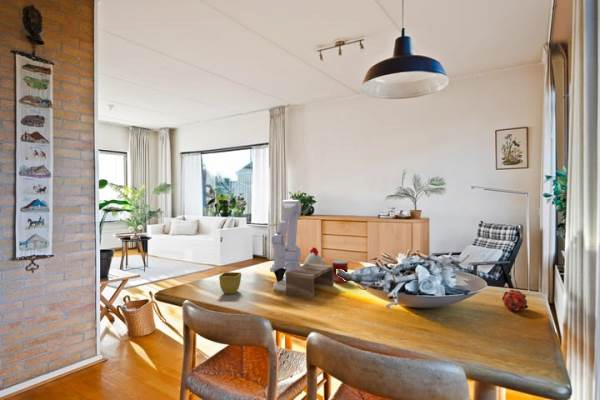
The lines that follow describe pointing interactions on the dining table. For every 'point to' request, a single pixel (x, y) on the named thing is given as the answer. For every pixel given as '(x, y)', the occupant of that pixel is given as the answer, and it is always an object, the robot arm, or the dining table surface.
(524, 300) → the dragon fruit
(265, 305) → the dining table surface
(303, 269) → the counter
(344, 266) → the canned food
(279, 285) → the white tray
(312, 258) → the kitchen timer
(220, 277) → the flower pot
